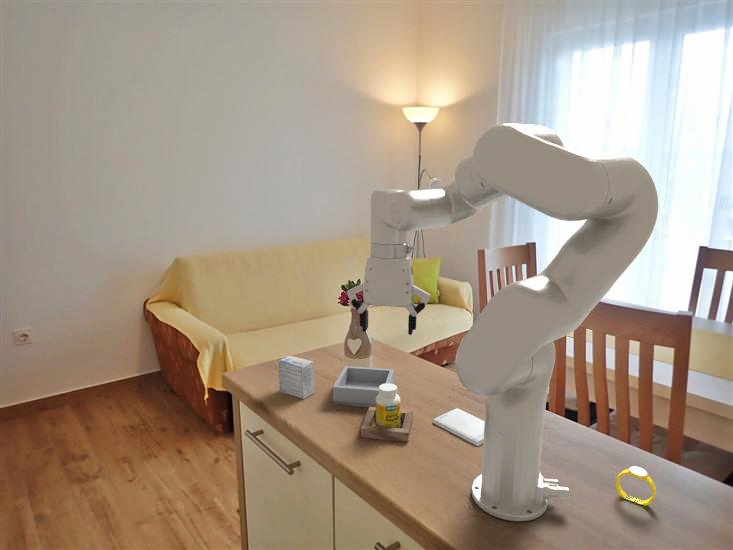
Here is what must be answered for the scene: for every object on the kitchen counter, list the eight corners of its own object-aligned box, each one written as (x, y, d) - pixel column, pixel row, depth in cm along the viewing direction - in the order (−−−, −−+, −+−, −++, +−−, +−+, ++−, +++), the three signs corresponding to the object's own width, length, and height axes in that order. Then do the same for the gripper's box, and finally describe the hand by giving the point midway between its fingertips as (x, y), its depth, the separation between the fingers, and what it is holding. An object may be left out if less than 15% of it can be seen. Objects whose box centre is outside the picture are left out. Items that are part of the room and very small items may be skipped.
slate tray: (394, 385, 133) (394, 369, 132) (386, 408, 121) (386, 391, 120) (345, 381, 135) (345, 365, 134) (333, 404, 123) (332, 386, 122)
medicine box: (314, 393, 129) (314, 361, 127) (303, 400, 125) (302, 367, 123) (290, 386, 133) (289, 354, 131) (279, 392, 129) (277, 360, 127)
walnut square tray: (412, 418, 116) (413, 410, 116) (408, 441, 106) (408, 432, 106) (369, 414, 118) (369, 406, 117) (361, 437, 108) (361, 428, 108)
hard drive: (433, 418, 114) (477, 441, 105) (457, 407, 119) (502, 427, 110) (433, 425, 114) (477, 448, 105) (457, 414, 119) (501, 435, 110)
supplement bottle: (390, 419, 116) (391, 379, 114) (405, 429, 111) (405, 388, 109) (370, 425, 113) (370, 385, 111) (385, 436, 109) (385, 394, 106)
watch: (653, 505, 87) (661, 475, 86) (650, 513, 85) (657, 483, 84) (616, 489, 91) (622, 460, 89) (612, 497, 89) (618, 467, 87)
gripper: (432, 249, 106) (430, 328, 110) (351, 246, 109) (351, 323, 113) (430, 256, 99) (427, 340, 102) (343, 252, 102) (343, 334, 105)
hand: (387, 331), depth 108 cm, fingers open, 9 cm apart
